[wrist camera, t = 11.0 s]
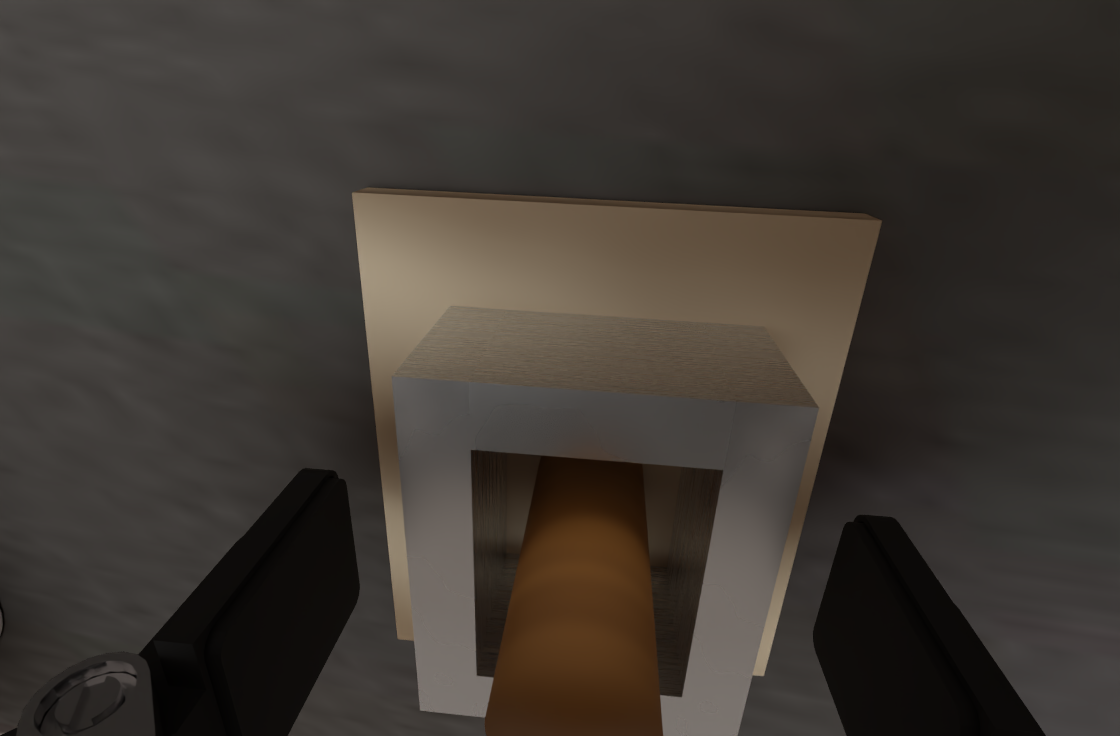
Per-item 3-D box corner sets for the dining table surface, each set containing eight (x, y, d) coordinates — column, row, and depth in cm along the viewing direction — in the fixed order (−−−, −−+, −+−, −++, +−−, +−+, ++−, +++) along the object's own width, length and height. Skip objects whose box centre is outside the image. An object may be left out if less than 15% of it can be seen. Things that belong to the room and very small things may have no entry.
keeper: (367, 187, 12) (-6, 307, 5) (864, 214, 11) (1299, 397, 4) (407, 616, 17) (251, 997, 10) (757, 650, 16) (870, 1085, 9)
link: (450, 305, 12) (391, 376, 9) (764, 326, 12) (819, 407, 9) (460, 584, 15) (420, 710, 12) (709, 607, 15) (735, 745, 12)
